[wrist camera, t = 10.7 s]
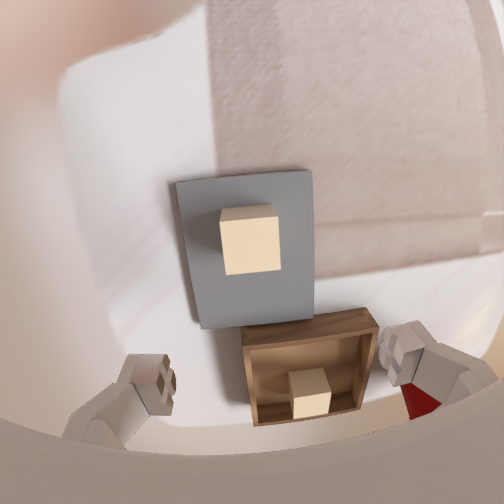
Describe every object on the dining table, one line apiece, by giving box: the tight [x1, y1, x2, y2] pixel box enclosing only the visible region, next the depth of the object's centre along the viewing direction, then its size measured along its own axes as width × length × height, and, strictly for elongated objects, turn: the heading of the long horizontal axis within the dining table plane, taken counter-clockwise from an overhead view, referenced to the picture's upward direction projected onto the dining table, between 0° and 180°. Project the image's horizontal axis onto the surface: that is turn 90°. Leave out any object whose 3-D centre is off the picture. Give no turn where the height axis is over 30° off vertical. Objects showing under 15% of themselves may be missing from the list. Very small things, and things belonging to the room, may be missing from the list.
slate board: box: [176, 170, 314, 329], centre depth 26 cm, size 14×11×1 cm
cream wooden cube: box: [219, 204, 281, 275], centre depth 23 cm, size 4×4×4 cm
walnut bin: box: [241, 308, 379, 427], centre depth 30 cm, size 13×13×4 cm
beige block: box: [288, 367, 331, 419], centre depth 30 cm, size 4×4×4 cm
